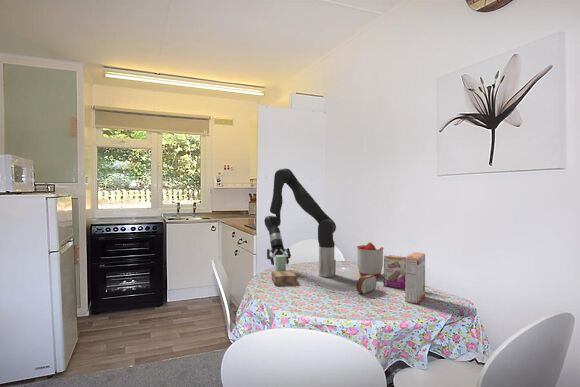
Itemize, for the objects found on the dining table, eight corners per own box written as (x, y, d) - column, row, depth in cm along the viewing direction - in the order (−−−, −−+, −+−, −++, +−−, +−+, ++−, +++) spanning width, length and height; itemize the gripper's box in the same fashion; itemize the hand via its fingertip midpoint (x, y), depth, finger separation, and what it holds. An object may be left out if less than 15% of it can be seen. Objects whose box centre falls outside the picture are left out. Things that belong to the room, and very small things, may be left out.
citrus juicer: (390, 276, 199) (391, 242, 199) (370, 280, 189) (371, 245, 189) (370, 270, 212) (371, 239, 212) (350, 274, 202) (351, 241, 202)
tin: (372, 288, 174) (372, 272, 174) (377, 289, 172) (378, 273, 172) (355, 294, 164) (356, 277, 164) (361, 296, 161) (361, 278, 161)
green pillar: (283, 274, 200) (283, 254, 200) (285, 276, 196) (285, 256, 195) (275, 275, 199) (275, 255, 199) (277, 277, 194) (277, 256, 194)
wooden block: (292, 278, 192) (292, 270, 192) (296, 284, 181) (296, 275, 181) (271, 279, 190) (271, 271, 190) (274, 285, 178) (274, 276, 178)
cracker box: (412, 294, 165) (413, 251, 165) (425, 296, 162) (426, 253, 161) (404, 301, 154) (404, 256, 154) (417, 304, 150) (418, 258, 150)
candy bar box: (383, 286, 178) (383, 255, 178) (384, 284, 182) (385, 254, 182) (405, 289, 173) (405, 257, 173) (406, 286, 178) (406, 255, 177)
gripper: (265, 238, 204) (269, 261, 193) (288, 237, 208) (293, 260, 197) (264, 245, 209) (267, 268, 198) (286, 245, 213) (290, 267, 202)
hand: (280, 264), depth 197 cm, fingers open, 8 cm apart
